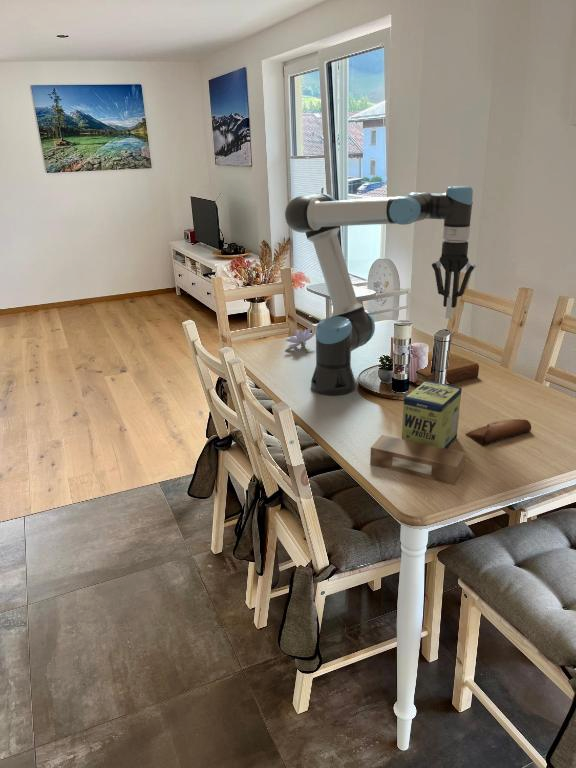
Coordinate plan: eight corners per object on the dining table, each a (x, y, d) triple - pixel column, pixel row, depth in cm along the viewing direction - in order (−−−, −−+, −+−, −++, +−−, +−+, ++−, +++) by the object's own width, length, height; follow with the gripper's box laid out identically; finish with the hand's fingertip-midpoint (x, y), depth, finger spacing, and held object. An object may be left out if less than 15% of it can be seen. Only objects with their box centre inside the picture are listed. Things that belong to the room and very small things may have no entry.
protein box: (400, 450, 160) (403, 397, 154) (422, 428, 172) (426, 379, 166) (437, 460, 154) (441, 406, 148) (457, 437, 166) (462, 386, 160)
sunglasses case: (508, 420, 175) (519, 407, 170) (522, 439, 172) (535, 426, 167) (462, 434, 167) (473, 421, 162) (477, 454, 164) (488, 441, 159)
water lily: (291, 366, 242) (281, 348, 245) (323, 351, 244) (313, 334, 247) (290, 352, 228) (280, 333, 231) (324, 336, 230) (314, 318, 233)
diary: (427, 392, 198) (428, 376, 196) (392, 375, 214) (393, 360, 212) (477, 378, 208) (479, 363, 206) (441, 363, 224) (442, 348, 221)
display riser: (369, 464, 153) (370, 447, 151) (381, 451, 159) (381, 434, 157) (455, 485, 143) (456, 467, 141) (463, 470, 149) (465, 452, 147)
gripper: (430, 241, 176) (425, 317, 185) (474, 243, 170) (467, 322, 179) (437, 237, 182) (431, 312, 191) (480, 240, 176) (472, 316, 185)
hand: (448, 317), depth 185 cm, fingers closed
